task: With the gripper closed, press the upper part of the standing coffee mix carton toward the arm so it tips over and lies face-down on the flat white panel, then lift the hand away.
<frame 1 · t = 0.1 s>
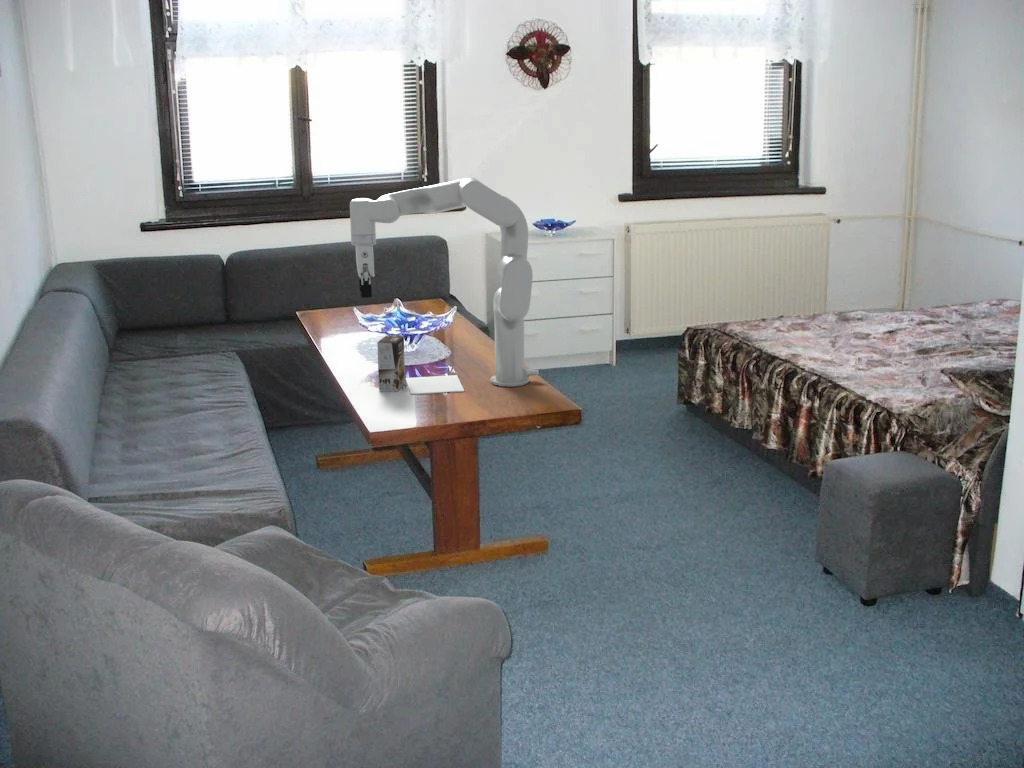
hand: (365, 294, 344), 31 cm above the table, tool pointing down, fingers open, 9 cm apart
coffee box: (392, 388, 355), on the table
flat white panel: (434, 385, 358), on the table
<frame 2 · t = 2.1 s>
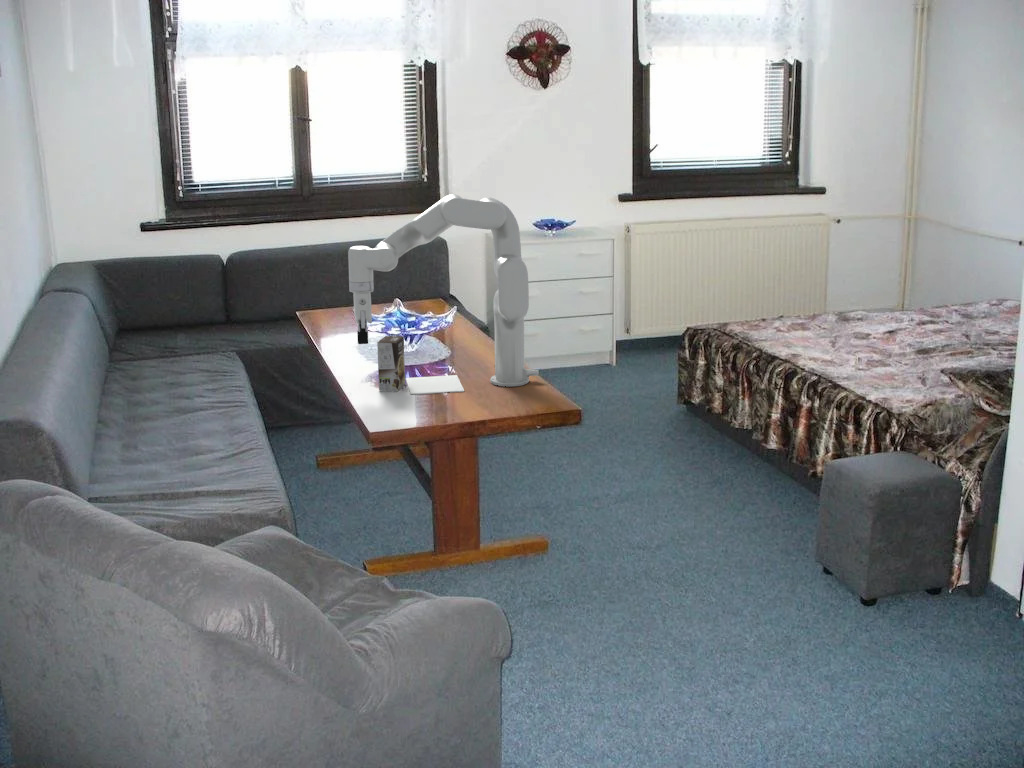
hand: (362, 343, 350), 15 cm above the table, tool pointing down, fingers closed
nothing on the table moved.
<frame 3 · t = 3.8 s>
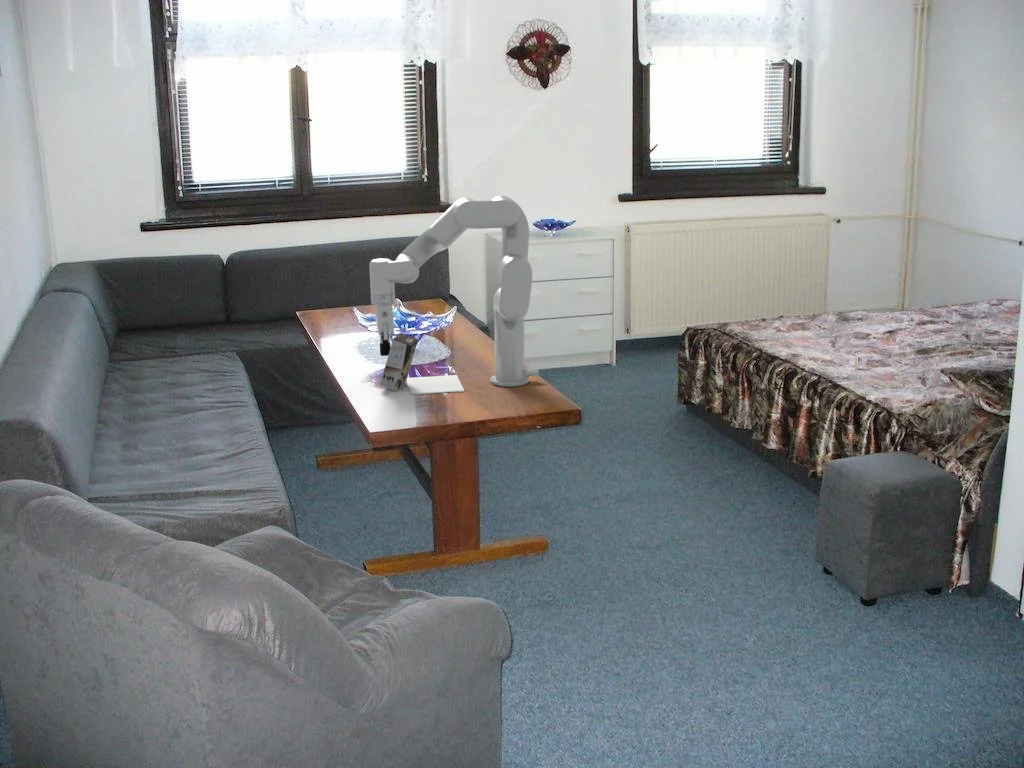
hand: (385, 354, 352), 11 cm above the table, tool pointing down, fingers closed
coffee box: (392, 385, 355), point 1 cm above the table, touching gripper
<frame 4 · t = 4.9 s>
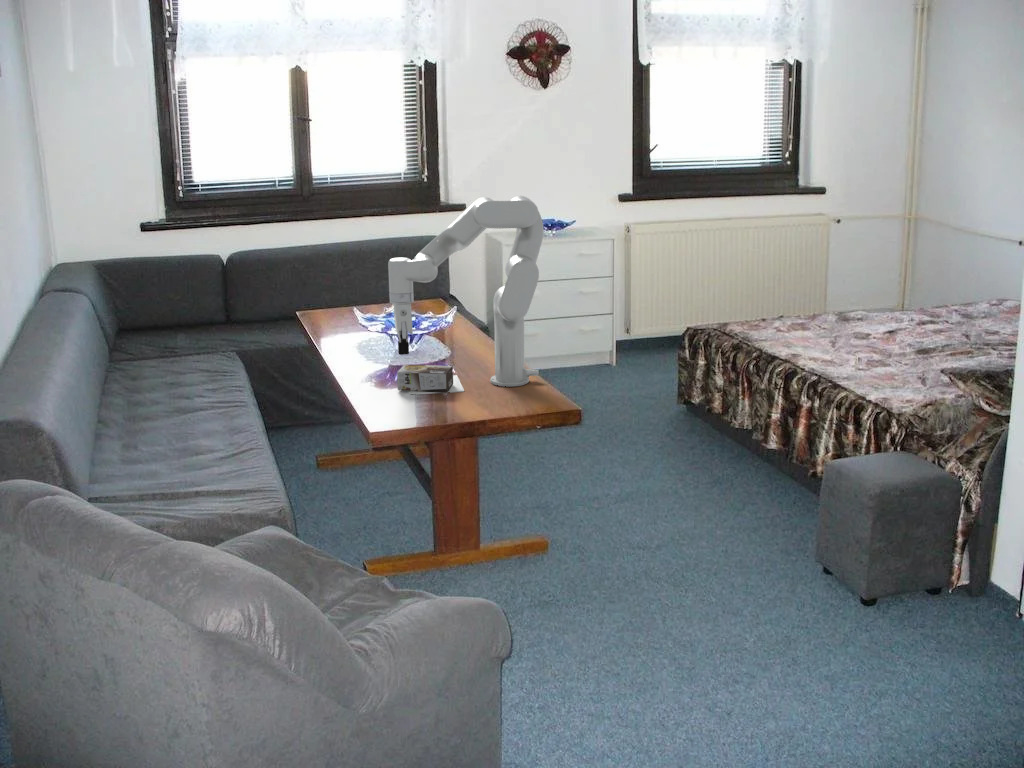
hand: (403, 353, 353), 11 cm above the table, tool pointing down, fingers closed
coffee box: (400, 377, 354), point 4 cm above the table, touching flat white panel
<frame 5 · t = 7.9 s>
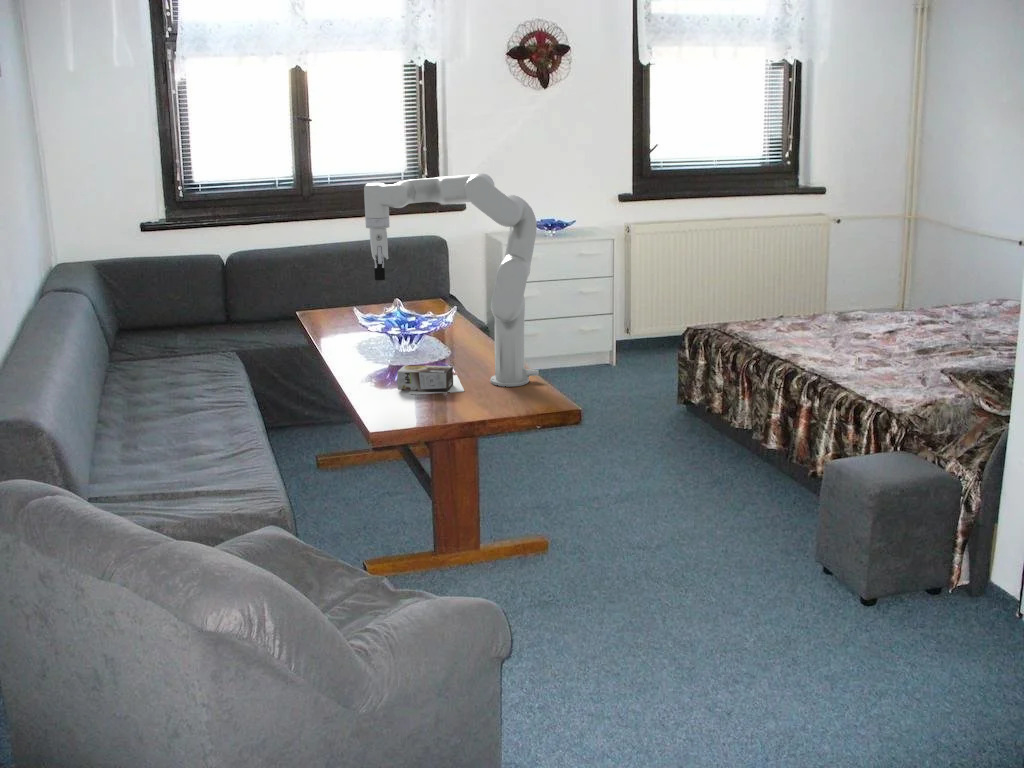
hand: (379, 279, 356), 33 cm above the table, tool pointing down, fingers closed
nothing on the table moved.
at the end: coffee box tilted 90°; coffee box touching flat white panel; coffee box inside the target area (4.5 cm from its centre), point 3.6 cm above the table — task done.
